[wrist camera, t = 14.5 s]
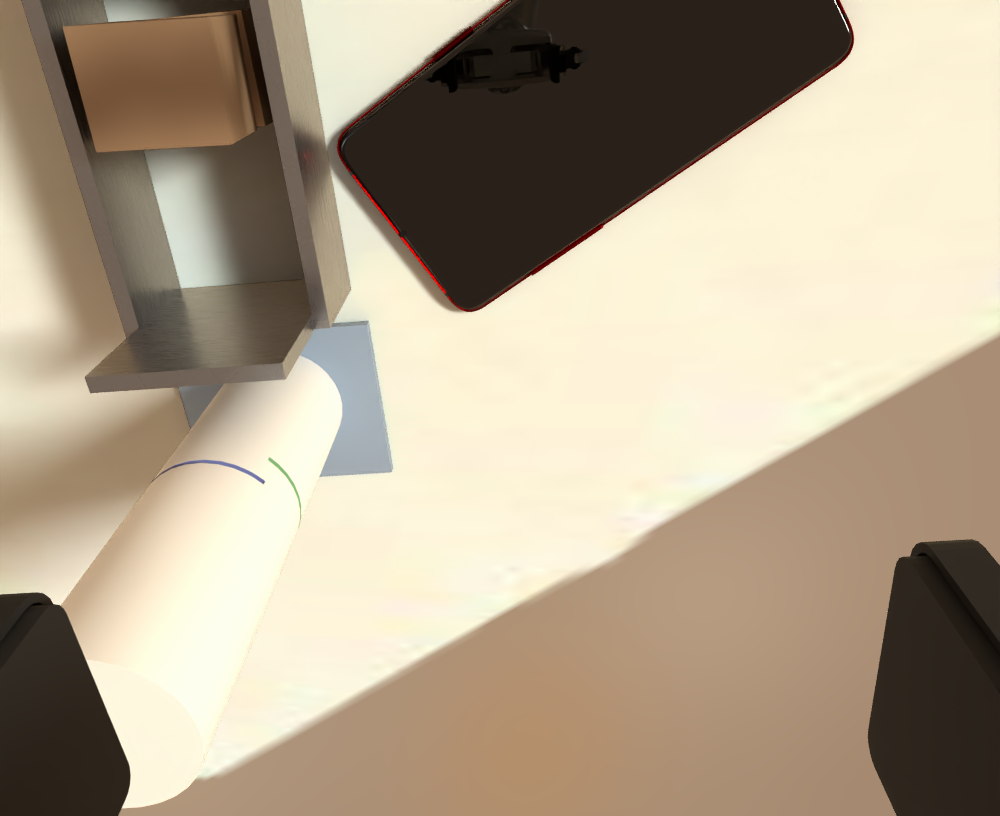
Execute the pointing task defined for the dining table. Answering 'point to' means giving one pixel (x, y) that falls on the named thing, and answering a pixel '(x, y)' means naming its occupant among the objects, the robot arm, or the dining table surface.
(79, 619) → the cylindrical container
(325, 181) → the rack
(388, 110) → the smartphone
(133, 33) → the walnut offcut upper
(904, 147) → the dining table surface
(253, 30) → the walnut offcut lower
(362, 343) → the mat
